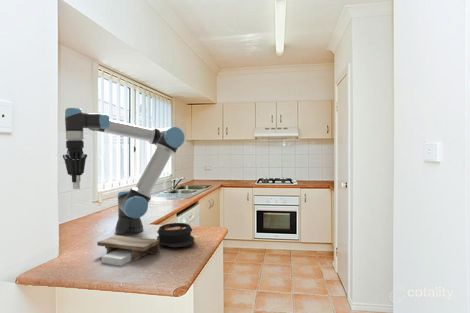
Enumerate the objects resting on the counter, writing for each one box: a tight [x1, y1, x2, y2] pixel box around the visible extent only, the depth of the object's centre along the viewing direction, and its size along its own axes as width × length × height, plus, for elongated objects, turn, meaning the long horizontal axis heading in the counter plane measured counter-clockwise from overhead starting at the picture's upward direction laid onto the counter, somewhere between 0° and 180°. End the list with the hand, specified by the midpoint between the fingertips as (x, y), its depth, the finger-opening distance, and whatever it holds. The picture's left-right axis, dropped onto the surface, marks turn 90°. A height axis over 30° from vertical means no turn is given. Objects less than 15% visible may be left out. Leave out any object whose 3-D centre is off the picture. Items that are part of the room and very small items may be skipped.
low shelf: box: [97, 234, 160, 261], centre depth 129 cm, size 11×24×6 cm, turn 71°
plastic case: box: [101, 248, 133, 266], centre depth 125 cm, size 14×10×3 cm
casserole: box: [156, 222, 195, 248], centre depth 145 cm, size 25×19×8 cm
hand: (76, 188), depth 143 cm, fingers closed
